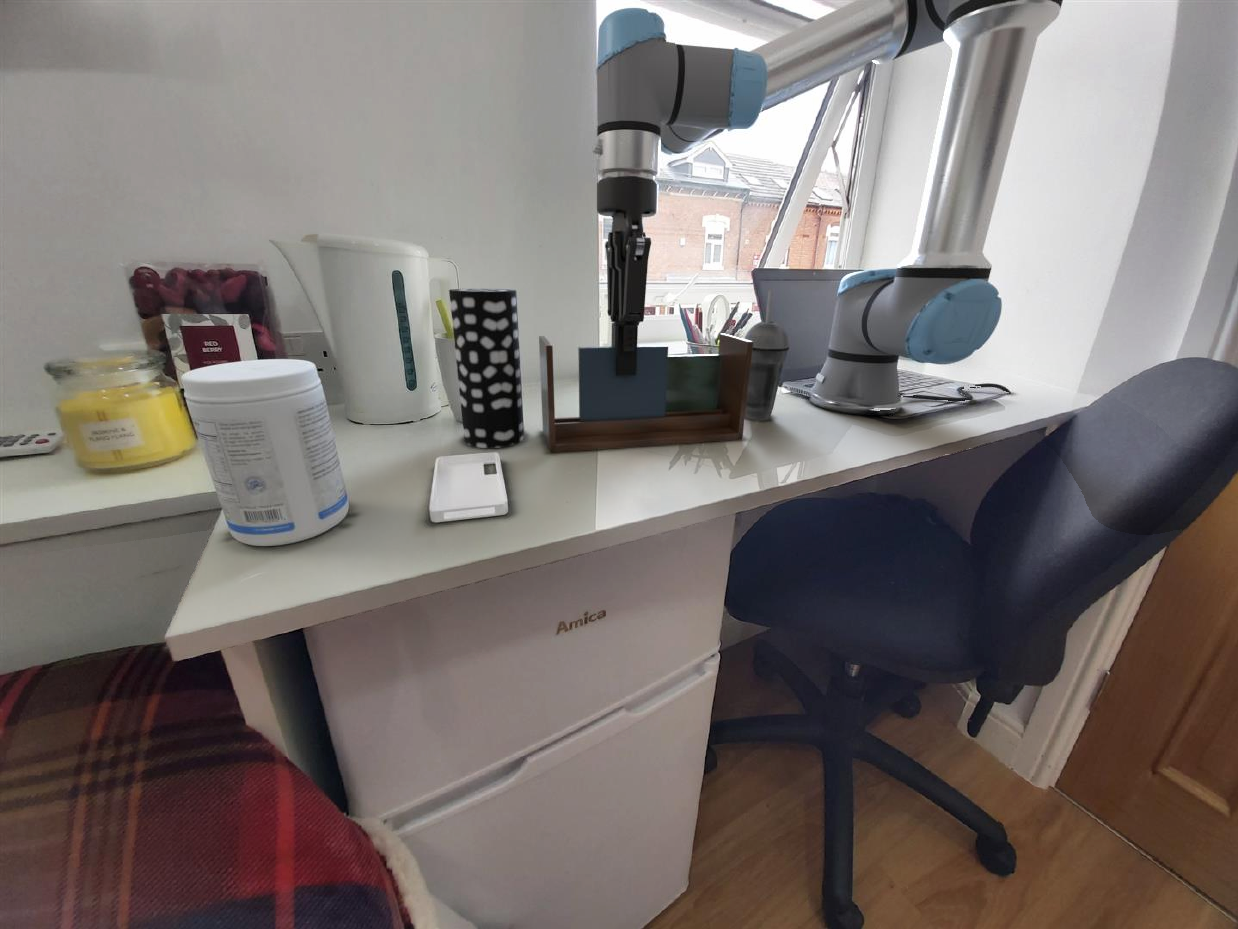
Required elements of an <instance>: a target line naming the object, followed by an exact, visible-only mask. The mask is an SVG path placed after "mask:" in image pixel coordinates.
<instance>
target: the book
mask: <svg viewBox="0 0 1238 929" xmlns="http://www.w3.org/2000/svg"><path fill="white" fill-rule="evenodd" d="M616 331H617V326H614V322H611V344H612V346H611V345H609V346H608V345H607V346H605V345H603V346H578V347H577V348H578V349H577V350H578V414H579V416H578V417H579V422H585V421H603V420H621V419H639V418H657V417H665V401H666V382H667V363H668V355H669V346H668V345H665V344H663V345H661V344H660V345H659V344H657V345H656V344H655V345H637V369H636V375H620V376H617V375H616Z"/></svg>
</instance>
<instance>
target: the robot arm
mask: <svg viewBox="0 0 1238 929" xmlns="http://www.w3.org/2000/svg"><path fill="white" fill-rule="evenodd" d="M1063 1H1064V0H854V1H852V2H850V3H848V4H846V5H844V6H841V7H839V8H837V9H835V10H833V11H831V12H829V13H827V14H825V15H823V16H821V17H818V18H816V19H814V20H813V21H811V22H808V23H806V24H804V25H801V26H800V27H797V28H795V29H794V30H791V31H789V32H787V33H785V34H783V35H781V36H779V37H777V38H775V39H772V40H771V41H769V42H766V43H764V44H762V45H760V46H758V47H756V48H754V49H752V50H750V51H747V50H743V49H739V48H738V47H734V48H726V47H725V48H724V47H712V46H701V45H688V44H680V43H679V44H678V43H675V42H671V41H667V34H666V25H665V21H664V19H663V18H662V17H661V16H660V14H658V13H656V12H653V11H652V12H649V10H648V8H647V9H646V8H641V7H626V8H621V9H617V10H614V11H612V12H610V13H609V14H607V15H606V16H605V17H604V18H603V20H602V21H601V23H600V25H599V27H598V33H597V34H598V38H597V57H596V58H597V62H596V69H595V75H596V136H597V139H596V140H597V143H596V144H593V146H592V148H591V149H592V153H593V154H594V155H597V159H596V162H597V164H596V165H597V166H596V170H597V171H596V172H597V175H598V176H599V177H601V179H599V180H598V182H596V212H597V214H599V215H600V216H603V217H611V218H612V222H611V223H612V224H611V230H610V231H609V232H607V233H608V234H607V240H606V241H605V244H604V249H605V254H606V278H607V279H606V283H607V286H606V287H607V315H608V317H610V322H611V323H614V326H617V331H616V375H617V376H620V375H636V369H637V346H638V333H639V332H638V331H639V325H640V323H643V322H644V319H645V306H646V294H647V279H648V269H649V268H648V266H649V258H650V251H651V246H652V239H651V237H650V236H647V235H646V232H645V231H644V219H643V218H650V217H654V216H655V215H657V213H658V207H659V205H658V204H659V184H658V182H657V181H656V180H655V179H656V178H658V176H659V175H660V173H661V152H662V153H663V154H665V155H669V156H678V155H683V154H685V153H687V152H689V151H691V150H692V149H693V148H694V147H696V146H697V145H699V144H702V143H705V142H706V141H709V140H710V139H712V138H714V137H717V136H718V135H720V134H721V133H724V132H726V131H727V132H732V131H746V130H749V129H751V127H753V126H754V125H755V123H756V122H757V121H758V119H759V117H760V115H762V114H764V113H766V112H768V111H770V110H772V109H774V108H776V107H778V106H780V105H782V104H785V103H788V102H789V101H792V100H794V99H795V98H797V97H799V96H801V95H804V94H806V93H808V92H810V91H812V90H815V89H817V88H818V87H821V86H822V85H825V84H827V83H829V82H831V81H834V80H835V79H837V78H840V77H841V76H844V75H845V74H848V73H850V72H852V71H854V70H857V69H859V68H860V67H862V66H865V65H867V64H869V63H871V62H873V63H875V64H876V65H884V64H887V63H890V62H891V61H893V60H896V59H898V58H900V57H903V56H905V55H907V54H910V53H913V52H916V51H920V50H922V49H925V48H928V47H931V46H934V45H937V44H940V43H942V42H946V44H948V46H950V48H951V49H952V57H951V60H950V66H949V71H948V75H947V79H946V80H947V81H946V86H945V89H944V96H943V100H942V105H941V110H940V114H939V120H938V124H937V128H936V134H935V137H934V138H935V139H934V142H933V149H932V153H931V158H930V162H929V167H928V172H927V176H926V182H925V187H924V192H923V196H922V200H921V205H920V211H919V215H918V220H917V224H916V229H915V234H914V239H913V243H912V249H911V252H910V253H909V255H908V256H907V257H906V258H904V259H903V260H901V262H899V263H898V264H897V265H896V268H881V269H880V268H879V269H867V270H861V271H855V272H850V273H848V274H846V275H844V276H843V278H842V279H841V280H840V283H839V286H838V290H837V294H836V296H835V307H834V313H833V319H832V326H831V331H830V338H829V343H828V350H827V355H826V360H825V363H824V364H823V365H822V366H823V367H822V368H821V369H820V372H817V374H816V376H815V379H816V381H815V383H814V384H813V386H812V387H811V389H810V394H809V402H810V403H811V404H813V405H815V406H817V407H819V408H823V409H826V410H829V411H833V412H840V413H845V414H851V415H852V414H853V415H862V416H863V415H865V416H881V415H882V416H883V415H884V416H885V415H891V414H895V413H897V412H899V411H900V407H901V403H902V402H901V401H902V399H901V398H907V399H908V398H909V399H914V400H915V399H918V400H928V401H937V400H948V401H947V402H950V401H965V400H970V401H972V400H973V399H974V396H973V395H972V394H971V393H969V392H967V391H966V390H962V389H964V385H963V386H959V387H958V388H956V392H957V391H958V392H959V393H958V392H957V393H958V394H960V393H962V394H963V395H965V396H966V397H965V396H964V397H949V396H937V395H927V394H916V395H913V396H903V397H901V395H902V394H905V393H906V392H900V384H899V383H900V382H899V381H900V380H899V371H898V364H899V359H900V357H902V358H905V359H909V360H912V361H915V362H917V363H920V364H933V365H951V364H955V363H959V362H961V361H964V360H966V359H967V358H970V357H971V356H972V355H973V353H974V352H976V351H978V350H980V349H981V348H983V346H984V345H985V344H986V343H987V342H988V340H989V339H990V338H991V337H992V335H993V334H994V332H995V330H996V328H997V327H998V324H999V322H1000V318H1001V315H1002V307H1003V302H1002V298H1001V297H999V293H1000V292H999V290H998V288H997V287H996V286H995V285H994V284H992V283H990V282H989V280H990V275H991V272H992V267H993V265H992V263H991V262H990V261H989V260H988V259H987V257H986V256H985V254H984V252H983V251H984V248H985V244H986V239H987V237H988V236H987V235H988V232H989V228H990V224H991V220H992V218H993V217H992V216H993V212H994V208H995V206H996V201H997V197H998V193H999V189H1000V185H1001V182H1002V178H1003V172H1004V170H1005V165H1006V162H1007V158H1008V154H1009V150H1010V146H1011V142H1012V138H1013V134H1014V131H1015V126H1016V123H1017V119H1018V116H1019V111H1020V108H1021V104H1022V100H1023V96H1024V92H1025V87H1026V85H1027V81H1028V77H1029V73H1030V68H1031V64H1032V61H1033V57H1034V54H1035V48H1036V45H1037V42H1038V39H1039V38H1038V37H1040V35H1041V34H1042V33H1043V32H1044V31H1045V30H1046V29H1047V28H1048V27H1049V26H1050V25H1052V23H1053V22H1054V21H1056V20H1057V19H1058V17H1059V15H1060V13H1061V9H1062V5H1063ZM610 344H611V345H610V346H612V343H610ZM974 385H975V386H981V389H983V388H993V389H999V390H1001V391H1003V392H1004V391H1006V392H1009V393H1010V394H1009V395H1011V394H1012V392H1011V391H1010V389H1009V388H1008V387H1006V386H1004V385H1001V384H998V383H977V384H975V383H974ZM970 388H974V389H980V387H977V388H976V387H970ZM963 395H962V396H963ZM899 405H900V406H899ZM897 406H899V407H898V408H896V409H891V410H880V411H871V410H869V409H874V408H894V407H897Z"/></svg>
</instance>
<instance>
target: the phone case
mask: <svg viewBox="0 0 1238 929" xmlns="http://www.w3.org/2000/svg"><path fill="white" fill-rule="evenodd" d="M484 465H495V469H496V470H495V471H496V473H492V474H485V467H484ZM433 471H434V472H433V477H432V484H431V491H430V497H429V498H430V499H429V504H428V505H429V506H428V509H429V516H430V521H431V522H432V523H444V522H453V521H461V520H470V519H479V518H489V517H497V516H504V515H506V514H508V512H509V505H508V496H507V490H506V485H505V484H506V483H505V480H504V474H503V469H502V463H501V458H500V454H499V452H481V453H469V454H468V453H467V454H458V455H457V454H456V455H444V456H438V457H437V458H436V459H435V464H434V470H433Z"/></svg>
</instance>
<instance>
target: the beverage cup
mask: <svg viewBox="0 0 1238 929" xmlns="http://www.w3.org/2000/svg"><path fill="white" fill-rule="evenodd" d="M772 293H773V291H772V290H769V291H768V293H767V304H766V315H765V321H759V322H757V323H755V324H753V326H751V327H750V328H749V330H748V331H747V332H746V334H745V336H744V339H746V340H749V341H753V350H752V359H751V367H750V376H749V385H748V394H747V402H746V411H745V419H747V420H751V421H758V422H762V421H763V422H764V421H769V420H770V419H771V416H772V412H773V410H774V406H775V401H776V398H777V393H778V389H779V384H780V381H781V375H782V371H783V367H784V363H785V361H786V358H787V356H788V351H789V350H790V347H789V337H788V334H787V332H786V330H785V328H784V327H783V326H782V325H781V324H779V323H778V322H776V321H770V315H771V304H772V295H773V294H772Z"/></svg>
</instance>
